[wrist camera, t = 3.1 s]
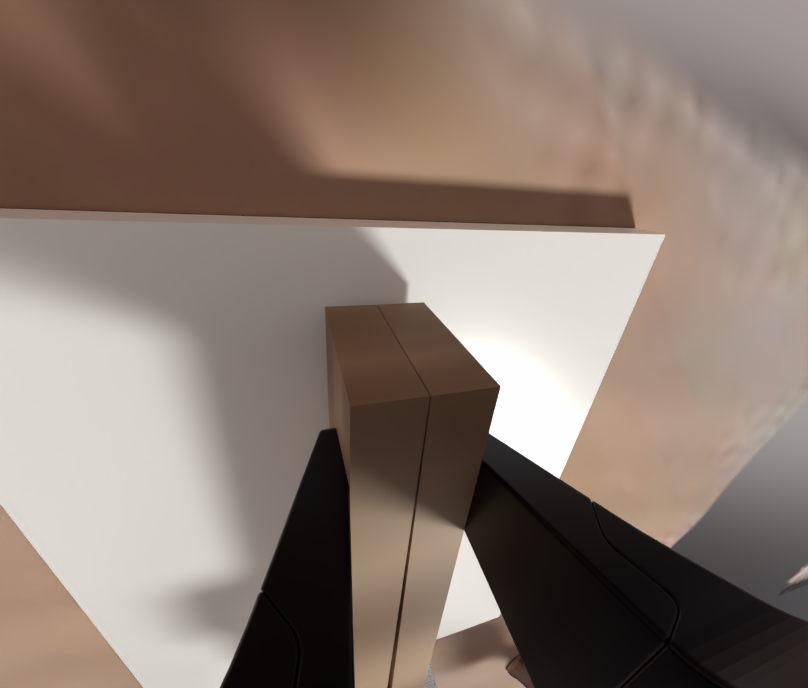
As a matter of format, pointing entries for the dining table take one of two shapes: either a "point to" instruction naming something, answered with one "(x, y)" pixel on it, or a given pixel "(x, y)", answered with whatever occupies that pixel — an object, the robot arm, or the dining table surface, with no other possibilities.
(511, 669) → the figurine
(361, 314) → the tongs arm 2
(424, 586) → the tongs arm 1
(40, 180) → the dining table surface
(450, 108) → the dining table surface
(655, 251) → the board
